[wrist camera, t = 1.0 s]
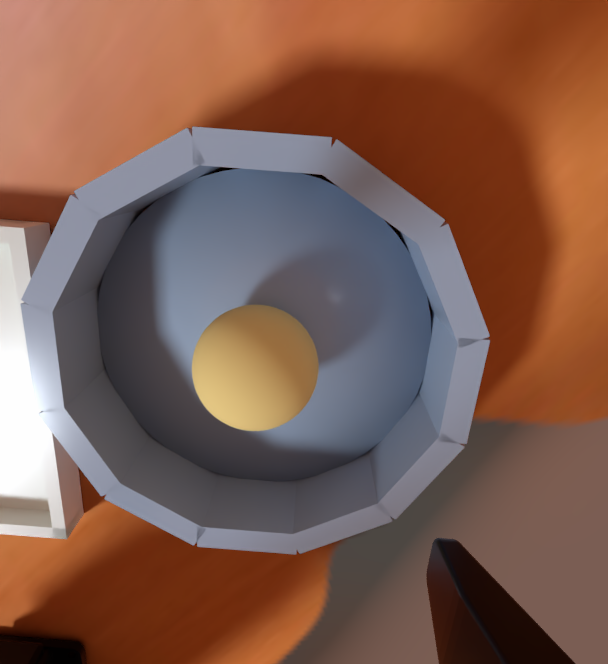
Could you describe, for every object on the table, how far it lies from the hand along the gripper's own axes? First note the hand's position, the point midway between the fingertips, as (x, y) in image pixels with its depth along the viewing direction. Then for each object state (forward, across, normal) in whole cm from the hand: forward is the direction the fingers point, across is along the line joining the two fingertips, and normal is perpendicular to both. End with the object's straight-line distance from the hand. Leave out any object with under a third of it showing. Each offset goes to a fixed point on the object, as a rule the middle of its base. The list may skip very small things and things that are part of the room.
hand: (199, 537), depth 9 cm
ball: (+8, 0, 0) cm, 8 cm away
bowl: (+11, 0, 0) cm, 11 cm away
